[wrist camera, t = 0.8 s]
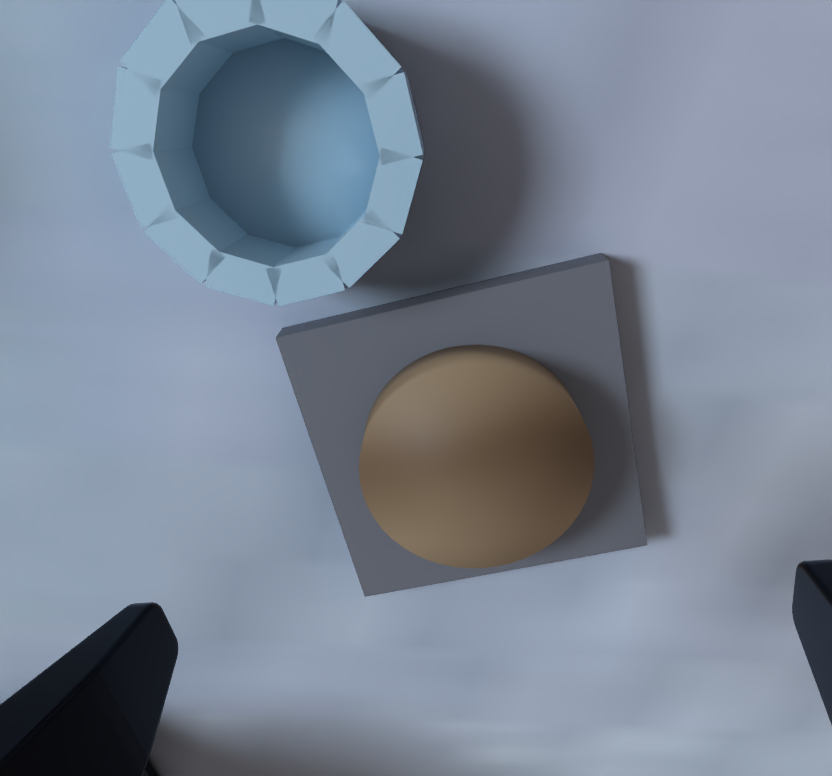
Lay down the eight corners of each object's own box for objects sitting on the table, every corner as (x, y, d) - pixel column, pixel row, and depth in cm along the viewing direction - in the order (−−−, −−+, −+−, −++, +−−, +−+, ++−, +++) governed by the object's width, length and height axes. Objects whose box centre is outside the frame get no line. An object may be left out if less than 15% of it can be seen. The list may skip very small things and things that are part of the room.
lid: (596, 516, 22) (608, 545, 20) (394, 555, 23) (392, 585, 21) (564, 321, 19) (575, 337, 18) (337, 372, 20) (329, 392, 18)
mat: (638, 528, 23) (647, 545, 22) (367, 578, 24) (364, 596, 23) (600, 253, 19) (608, 259, 18) (282, 328, 20) (275, 337, 20)
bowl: (445, 241, 19) (448, 265, 16) (221, 296, 20) (181, 329, 17) (384, -32, 17) (372, -67, 14) (128, 44, 18) (60, 28, 14)
